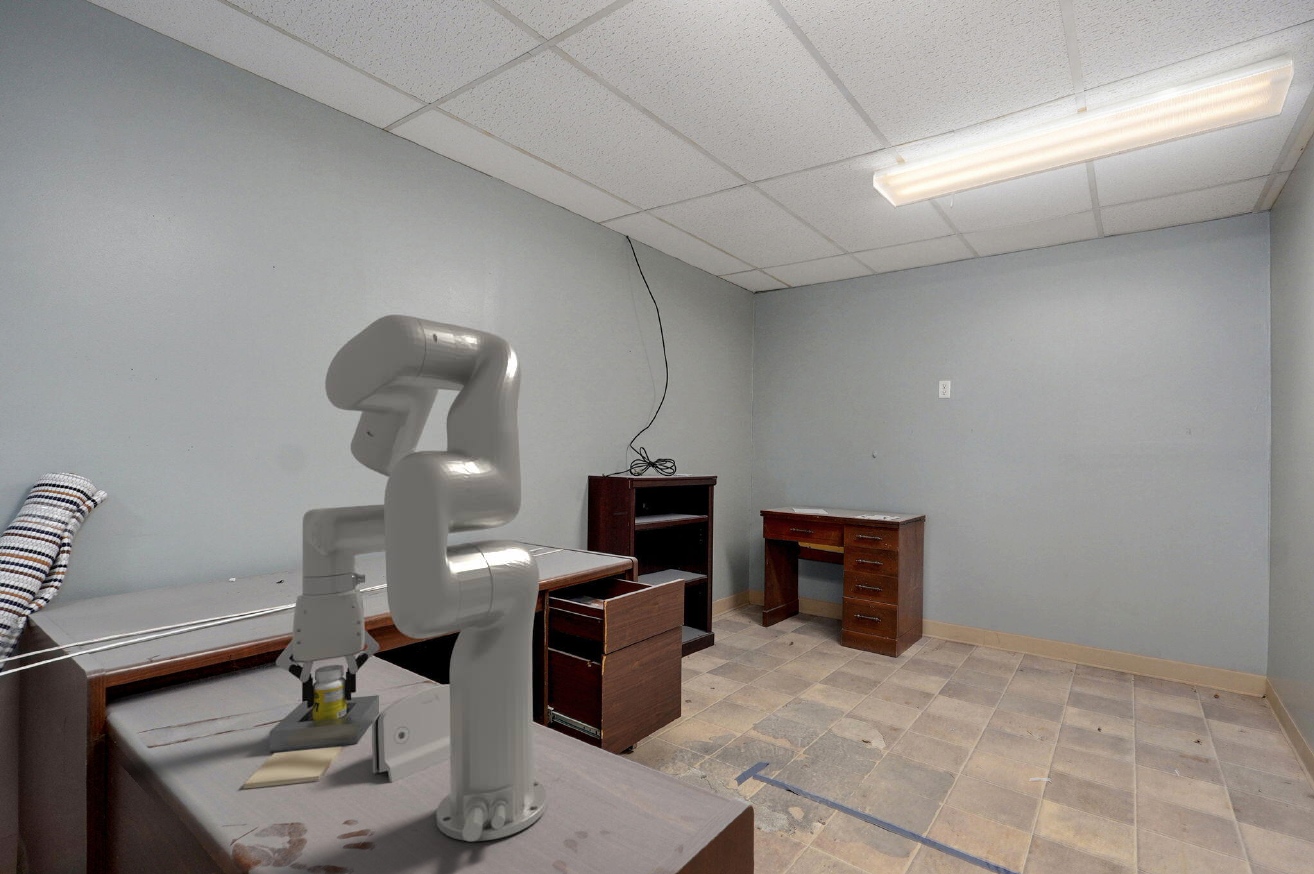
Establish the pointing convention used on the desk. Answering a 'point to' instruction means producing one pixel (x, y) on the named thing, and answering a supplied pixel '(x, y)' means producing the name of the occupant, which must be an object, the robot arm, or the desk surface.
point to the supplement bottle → (329, 693)
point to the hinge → (412, 733)
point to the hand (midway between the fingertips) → (329, 700)
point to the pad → (293, 767)
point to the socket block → (324, 726)
